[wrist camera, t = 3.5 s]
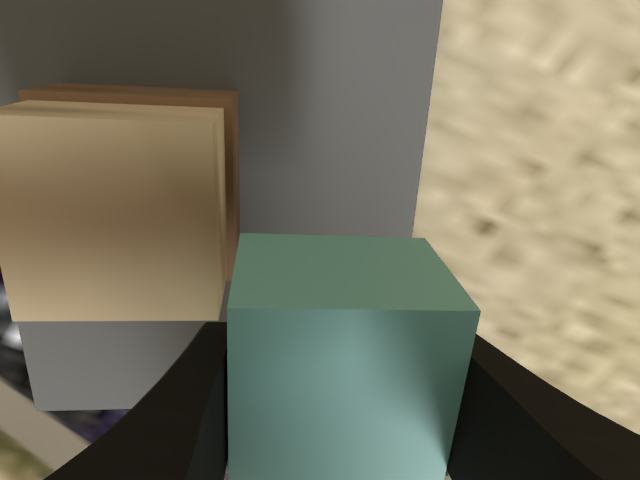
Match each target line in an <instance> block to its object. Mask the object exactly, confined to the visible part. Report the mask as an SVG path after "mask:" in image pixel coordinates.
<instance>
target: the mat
mask: <svg viewBox="0 0 640 480" xmlns="http://www.w3.org/2000/svg"><path fill="white" fill-rule="evenodd" d="M442 5H443V0H0V106H5V105H9V104H13V103H18V102H20V100H19V94H18V90H23V89H29V88H34V87H40V86H45V85H51V84H56V83H78V84H100V85H122V86H144V87H166V88H188V89H210V90H232V91H238V94H239V189H240V233H261V234H297V235H333V236H369V237H406V238H412V232H413V224H414V217H415V209H416V202H417V194H418V187H419V179H420V171H421V164H422V156H423V149H424V141H425V134H426V126H427V118H428V111H429V103H430V96H431V88H432V80H433V73H434V65H435V58H436V50H437V43H438V35H439V27H440V20H441V12H442ZM231 282H232V281H226V284H225V289H224V294H223V299H222V305H221V310H220V315H219V320H218V321H17V322H18V327H19V331H20V336H21V341H22V346H23V350H24V355H25V360H26V365H27V370H28V374H29V379H30V384H31V389H32V393H33V398H34V403H35V408H36V411H55V410H99V409H132V408H133V407H134V406H135V405H136V404H137V403H138V402H139V401H140V399H141V398H142V397H143V396H144V395H145V394H146V393H147V392H148V391H149V390H150V389H151V388H152V387H153V386H154V385H155V384H156V383H157V382H158V381H159V380H160V378H161V377H162V376H163V375H164V374H165V373H166V372H167V370H168V369H169V368H170V367H171V366H172V364H173V363H174V362H175V361H176V360H177V359H178V357H179V356H180V355H181V354H182V352H183V351H184V350H185V349H186V347H187V346H188V345H189V343H190V342H191V341H192V339H193V338H194V337H195V335H196V334H197V332H198V331H199V329H200V328H201V326H203V325H204V324H205V323H206V322H227V305H228V299H229V293H230V288H231Z"/></svg>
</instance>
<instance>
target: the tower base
mask: <svg viewBox="0 0 640 480" xmlns="http://www.w3.org/2000/svg"><path fill="white" fill-rule="evenodd" d="M18 94H19V100H20V102H22V101H26V100H42V101H66V102H90V103H114V104H138V105H162V106H186V107H210V108H224V143H225V189H226V235H227V279H226V281H232V276H233V271H234V265H235V259H236V254H237V248H238V242H239V237H240V189H239V94H238V91H232V90H210V89H188V88H166V87H144V86H122V85H100V84H78V83H56V84H51V85H45V86H40V87H34V88H29V89H23V90H18Z"/></svg>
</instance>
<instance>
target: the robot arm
mask: <svg viewBox="0 0 640 480" xmlns="http://www.w3.org/2000/svg"><path fill="white" fill-rule="evenodd" d="M227 459H228V373H227V322H206V323H205V324H204V325H203V326H201V328H200V329H199V331H198V332H197V334H196V335H195V337H194V338H193V339H192V341H191V342H190V343H189V345H188V346H187V347H186V349H185V350H184V351H183V352H182V354H181V355H180V356H179V357H178V359H177V360H176V361H175V362H174V363H173V364H172V366H171V367H170V368H169V369H168V370H167V372H166V373H165V374H164V375H163V376H162V377H161V378H160V380H159V381H158V382H157V383H156V384H155V385H154V386H153V387H152V388H151V389H150V390H149V391H148V392H147V393H146V394H145V395H144V396H143V397H142V398H141V399H140V401H139V402H138V403H137V404H136V405H135V406H134V407H133V408H132V409H131V410H129V411H128V412H127V413H126V414H125V415H124V416H123V417H122V418H121V419H120V420H119V421H118V422H117V423H115V424H114V425H113V426H112V427H111V428H110V429H109V430H107V431H106V432H105V433H104V434H103V435H102V436H101V437H99V438H98V439H97V440H96V441H95V442H93V443H92V444H91V445H90V446H88V447H87V448H86V449H84V450H83V451H82V452H81V453H79V454H78V455H76V456H75V457H74V458H72V459H71V460H70V461H68V462H67V463H66V464H65V465H63V466H62V467H60V468H59V469H58V470H56V471H55V472H54V473H52V474H51V475H49V476H48V477H47V478H45V479H44V480H224V475H225V470H226V465H227ZM447 471H448V473H449V475H450V477H449V476H445V478H444V480H640V435H638V434H636V433H634V432H632V431H630V430H628V429H627V428H625V427H623V426H621V425H619V424H617V423H615V422H613V421H612V420H610V419H608V418H606V417H604V416H602V415H600V414H598V413H597V412H595V411H593V410H591V409H590V408H588V407H586V406H584V405H583V404H581V403H579V402H577V401H576V400H574V399H573V398H571V397H569V396H568V395H566V394H565V393H563V392H561V391H560V390H558V389H556V388H555V387H553V386H552V385H550V384H548V383H547V382H545V381H544V380H542V379H541V378H539V377H538V376H536V375H535V374H533V373H532V372H530V371H529V370H527V369H526V368H524V367H523V366H521V365H520V364H519V363H517V362H516V361H514V360H513V359H511V358H510V357H508V356H507V355H506V354H504V353H503V352H501V351H500V350H499V349H497V348H496V347H494V346H493V345H491V344H490V343H489V342H487V341H486V340H484V339H483V338H481V337H480V336H478V335H477V334H476V335H475V340H474V345H473V349H472V354H471V358H470V363H469V368H468V372H467V377H466V381H465V386H464V391H463V395H462V400H461V404H460V409H459V414H458V418H457V423H456V427H455V432H454V437H453V441H452V446H451V450H450V455H449V460H448V464H447Z"/></svg>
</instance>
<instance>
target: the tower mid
mask: <svg viewBox="0 0 640 480" xmlns="http://www.w3.org/2000/svg"><path fill="white" fill-rule="evenodd" d="M0 266H1V271H2V275H3V280H4V285H5V289H6V294H7V299H8V303H9V308H10V313H11V317H12V321H218V320H219V315H220V310H221V305H222V299H223V294H224V289H225V284H226V279H227V235H226V189H225V143H224V108H210V107H186V106H162V105H138V104H114V103H90V102H66V101H42V100H26V101H22V102H18V103H13V104H9V105H5V106H0Z"/></svg>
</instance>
